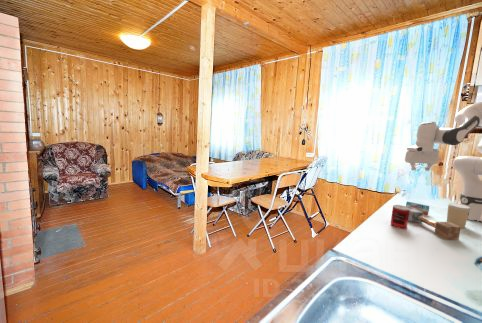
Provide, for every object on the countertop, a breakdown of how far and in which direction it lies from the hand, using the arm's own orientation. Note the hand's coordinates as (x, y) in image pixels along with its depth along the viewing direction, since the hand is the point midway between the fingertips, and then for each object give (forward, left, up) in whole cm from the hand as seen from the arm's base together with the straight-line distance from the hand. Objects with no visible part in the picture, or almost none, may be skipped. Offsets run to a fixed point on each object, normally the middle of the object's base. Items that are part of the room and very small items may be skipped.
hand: (420, 170), depth 142 cm
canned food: (+24, +16, -29) cm, 41 cm away
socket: (+9, +29, -29) cm, 42 cm away
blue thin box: (-6, -4, -29) cm, 30 cm away
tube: (+9, +22, -28) cm, 36 cm away
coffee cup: (-12, +16, -29) cm, 35 cm away
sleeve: (+9, +9, -29) cm, 32 cm away
